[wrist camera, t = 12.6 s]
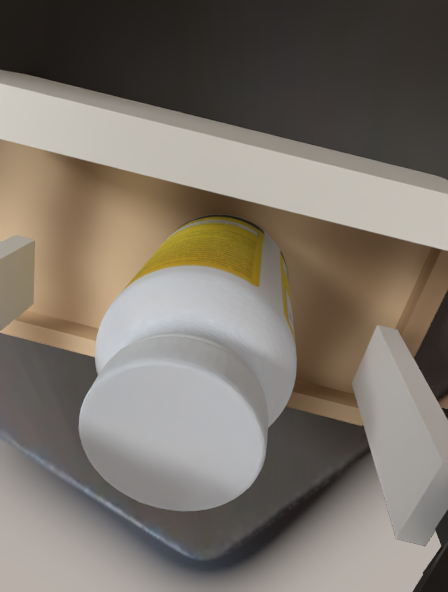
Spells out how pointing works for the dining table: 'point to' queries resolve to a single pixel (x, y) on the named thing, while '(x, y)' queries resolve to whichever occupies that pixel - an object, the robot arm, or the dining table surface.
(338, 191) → the wall board
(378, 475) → the robot arm
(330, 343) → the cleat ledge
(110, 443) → the pill bottle
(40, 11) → the dining table surface
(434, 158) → the dining table surface
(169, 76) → the dining table surface
